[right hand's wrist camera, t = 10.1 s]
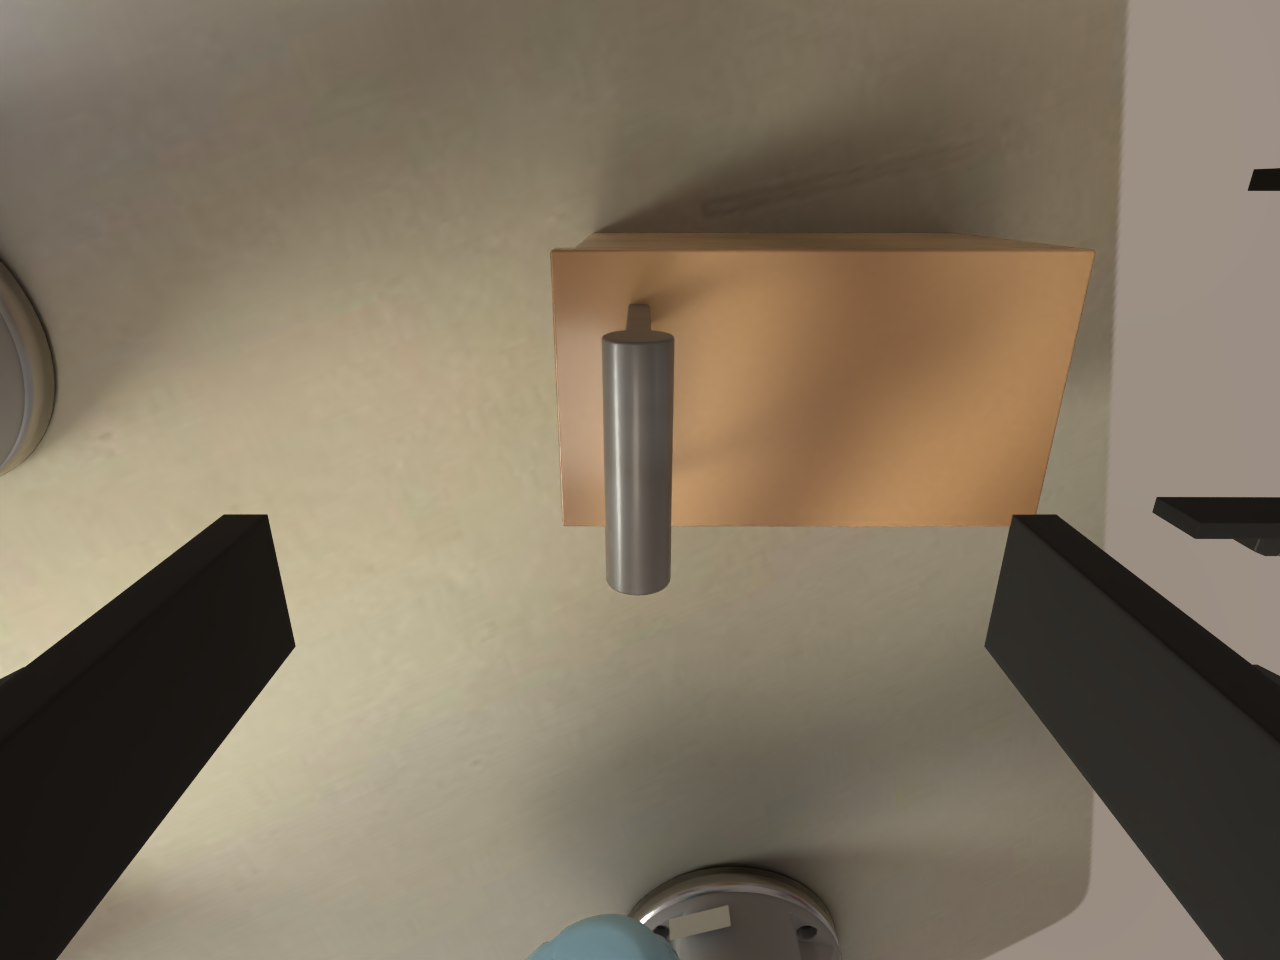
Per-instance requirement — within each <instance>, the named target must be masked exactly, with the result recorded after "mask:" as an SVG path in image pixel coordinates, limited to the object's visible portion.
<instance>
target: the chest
mask: <svg viewBox="0 0 1280 960" xmlns="http://www.w3.org/2000/svg"><path fill="white" fill-rule="evenodd" d="M575 248H1073V247H1065V246H1056V245H1048V244H1040V243H1031V242H1023V241H1015V240H1006V239H998V238H990V237H982V236H973V235H965V234H957V233H593V234H592V235H590V236H589V237H588V238H587V239H585V240H584V241H583V242H582V243H580V244H579V245H578V246H577V247H575Z"/></svg>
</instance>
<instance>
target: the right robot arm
mask: <svg viewBox="0 0 1280 960" xmlns="http://www.w3.org/2000/svg"><path fill="white" fill-rule="evenodd" d="M53 402H54V371H53V363H52V359H51V354H50V349H49V346H48V343H47V339H46V336H45V334H44V331H43V329H42V326H41V324H40V321H39V319H38V317H37V315H36V313H35V311H34V309H33V307H32V305H31V303H30V301H29V300H28V298H27V296H26V295H25V293H24V291H23V290H22V288H21V287H20V285H19V284H18V283H17V281H16V280H15V278H14V277H13V276H12V274H11V273H10V272H9V270H8V269H7V268H6V267H5V266H4V264H3V263H2V262H1V261H0V476H1V475H4V474H5V473H7V472H9V471H11V470H12V469H14V468H15V467H17V466H18V465H19V464H20V463H22V462H23V461H24V460H25V459H26V458H27V457H28V456H29V455H30V454H31V453H32V452H33V451H34V449H35V448H36V446H37V445H38V444H39V442H40V441H41V439H42V437H43V435H44V433H45V431H46V429H47V426H48V423H49V421H50V417H51V413H52V409H53ZM294 648H295V642H294V637H293V632H292V628H291V623H290V618H289V613H288V609H287V604H286V599H285V595H284V590H283V585H282V581H281V576H280V571H279V567H278V562H277V557H276V553H275V548H274V543H273V539H272V534H271V529H270V524H269V520H268V515H223V516H221V517H220V518H219V519H217V520H216V521H215V522H214V523H212V524H211V525H210V526H208V527H207V528H206V529H204V530H203V531H202V532H201V533H199V534H198V535H197V536H195V537H194V538H193V539H191V540H190V541H189V542H187V543H186V544H185V545H184V546H182V547H181V548H180V549H178V550H177V551H176V552H174V553H173V554H172V555H171V556H169V557H168V558H167V559H165V560H164V561H163V562H161V563H160V564H159V565H157V566H156V567H155V568H154V569H152V570H151V571H150V572H148V573H147V574H146V575H144V576H143V577H142V578H141V579H139V580H138V581H137V582H135V583H134V584H133V585H131V586H130V587H129V588H127V589H126V590H125V591H124V592H122V593H121V594H120V595H118V596H117V597H116V598H114V599H113V600H112V601H111V602H109V603H108V604H107V605H105V606H104V607H103V608H101V609H100V610H99V611H98V612H96V613H95V614H94V615H92V616H91V617H90V618H88V619H87V620H86V621H84V622H83V623H82V624H81V625H79V626H78V627H77V628H75V629H74V630H73V631H71V632H70V633H69V634H68V635H66V636H65V637H64V638H62V639H61V640H60V641H58V642H57V643H56V644H54V645H53V646H52V647H51V648H49V649H48V650H47V651H45V652H44V653H43V654H41V655H40V656H39V657H38V658H36V659H35V660H34V661H32V662H31V663H30V664H28V665H27V666H26V667H23V668H21V669H19V670H17V671H15V672H13V673H11V674H9V675H7V676H6V677H4V678H2V679H0V960H56V959H57V958H58V957H59V955H60V954H61V953H62V951H63V950H64V949H65V947H66V946H67V945H68V943H69V942H70V941H71V940H72V938H73V937H74V936H75V934H76V933H77V932H78V930H79V929H80V928H81V926H82V925H83V924H84V923H85V921H86V920H87V919H88V917H89V916H90V915H91V913H92V912H93V911H94V909H95V908H96V907H97V906H98V904H99V903H100V902H101V900H102V899H103V898H104V896H105V895H106V894H107V892H108V891H109V890H110V888H111V887H112V886H113V885H114V883H115V882H116V881H117V879H118V878H119V877H120V875H121V874H122V873H123V871H124V870H125V869H126V868H127V866H128V865H129V864H130V862H131V861H132V860H133V858H134V857H135V856H136V854H137V853H138V852H139V851H140V849H141V848H142V847H143V845H144V844H145V843H146V841H147V840H148V839H149V837H150V836H151V835H152V834H153V832H154V831H155V830H156V828H157V827H158V826H159V824H160V823H161V822H162V820H163V819H164V818H165V817H166V815H167V814H168V813H169V811H170V810H171V809H172V807H173V806H174V805H175V803H176V802H177V801H178V799H179V798H180V797H181V796H182V794H183V793H184V792H185V790H186V789H187V788H188V786H189V785H190V784H191V782H192V781H193V780H194V779H195V777H196V776H197V775H198V773H199V772H200V771H201V769H202V768H203V767H204V765H205V764H206V763H207V762H208V760H209V759H210V758H211V756H212V755H213V754H214V752H215V751H216V750H217V748H218V747H219V746H220V745H221V743H222V742H223V741H224V739H225V738H226V737H227V735H228V734H229V733H230V731H231V730H232V729H233V728H234V726H235V725H236V724H237V722H238V721H239V720H240V718H241V717H242V716H243V714H244V713H245V712H246V710H247V709H248V708H249V707H250V705H251V704H252V703H253V701H254V700H255V699H256V697H257V696H258V695H259V693H260V692H261V691H262V690H263V688H264V687H265V686H266V684H267V683H268V682H269V680H270V679H271V678H272V676H273V675H274V674H275V673H276V671H277V670H278V669H279V667H280V666H281V665H282V663H283V662H284V661H285V659H286V658H287V657H288V656H289V654H290V653H291V652H292V650H293V649H294ZM985 648H986V649H987V650H988V652H989V653H990V654H991V656H992V657H993V658H994V659H995V661H996V662H997V663H998V665H999V666H1000V667H1001V669H1002V670H1003V671H1004V673H1005V674H1006V675H1007V676H1008V678H1009V679H1010V680H1011V682H1012V683H1013V684H1014V686H1015V687H1016V688H1017V690H1018V691H1019V692H1020V693H1021V695H1022V696H1023V697H1024V699H1025V700H1026V701H1027V703H1028V704H1029V705H1030V707H1031V708H1032V709H1033V710H1034V712H1035V713H1036V714H1037V716H1038V717H1039V718H1040V720H1041V721H1042V722H1043V724H1044V725H1045V726H1046V728H1047V729H1048V730H1049V731H1050V733H1051V734H1052V735H1053V737H1054V738H1055V739H1056V741H1057V742H1058V743H1059V745H1060V746H1061V747H1062V748H1063V750H1064V751H1065V752H1066V754H1067V755H1068V756H1069V758H1070V759H1071V760H1072V762H1073V763H1074V764H1075V765H1076V767H1077V768H1078V769H1079V771H1080V772H1081V773H1082V775H1083V776H1084V777H1085V779H1086V780H1087V781H1088V782H1089V784H1090V785H1091V786H1092V788H1093V789H1094V790H1095V792H1096V793H1097V794H1098V796H1099V797H1100V798H1101V799H1102V801H1103V802H1104V803H1105V805H1106V806H1107V807H1108V809H1109V810H1110V811H1111V813H1112V814H1113V815H1114V816H1115V818H1116V819H1117V820H1118V822H1119V823H1120V824H1121V826H1122V827H1123V828H1124V830H1125V831H1126V832H1127V834H1128V835H1129V836H1130V837H1131V839H1132V840H1133V841H1134V843H1135V844H1136V845H1137V847H1138V848H1139V849H1140V850H1141V852H1142V853H1143V854H1144V856H1145V857H1146V858H1147V860H1148V861H1149V862H1150V864H1151V865H1152V866H1153V868H1154V869H1155V870H1156V871H1157V873H1158V874H1159V875H1160V877H1161V878H1162V879H1163V881H1164V882H1165V883H1166V885H1167V886H1168V887H1169V888H1170V890H1171V891H1172V892H1173V894H1174V895H1175V896H1176V898H1177V899H1178V900H1179V902H1180V903H1181V904H1182V905H1183V907H1184V908H1185V909H1186V911H1187V912H1188V913H1189V915H1190V916H1191V917H1192V919H1193V920H1194V921H1195V922H1196V924H1197V925H1198V926H1199V928H1200V929H1201V930H1202V932H1203V933H1204V934H1205V936H1206V937H1207V938H1208V939H1209V941H1210V942H1211V943H1212V945H1213V946H1214V947H1215V949H1216V950H1217V951H1218V953H1219V954H1220V955H1221V957H1222V958H1223V959H1224V960H1280V676H1279V675H1277V674H1275V673H1273V672H1271V671H1269V670H1267V669H1265V668H1263V667H1261V666H1259V665H1252V664H1250V663H1249V662H1248V661H1246V660H1245V659H1244V658H1242V657H1241V656H1240V655H1239V654H1237V653H1236V652H1235V651H1233V650H1232V649H1231V648H1229V647H1228V646H1227V645H1226V644H1224V643H1223V642H1222V641H1220V640H1219V639H1218V638H1216V637H1215V636H1214V635H1212V634H1211V633H1210V632H1209V631H1207V630H1206V629H1205V628H1203V627H1202V626H1201V625H1199V624H1198V623H1197V622H1196V621H1194V620H1193V619H1192V618H1190V617H1189V616H1188V615H1186V614H1185V613H1184V612H1182V611H1181V610H1180V609H1179V608H1177V607H1176V606H1175V605H1173V604H1172V603H1171V602H1169V601H1168V600H1167V599H1166V598H1164V597H1163V596H1162V595H1160V594H1159V593H1158V592H1156V591H1155V590H1154V589H1152V588H1151V587H1150V586H1148V585H1147V584H1146V583H1145V582H1143V581H1142V580H1141V579H1139V578H1138V577H1137V576H1136V575H1134V574H1133V573H1132V572H1130V571H1129V570H1128V569H1126V568H1125V567H1124V566H1123V565H1121V564H1120V563H1119V562H1117V561H1116V560H1115V559H1113V558H1112V557H1111V556H1109V555H1108V554H1107V553H1106V552H1104V551H1103V550H1102V549H1100V548H1099V547H1098V546H1096V545H1095V544H1094V543H1093V542H1091V541H1090V540H1089V539H1087V538H1086V537H1085V536H1083V535H1082V534H1081V533H1079V532H1078V531H1077V530H1076V529H1074V528H1073V527H1072V526H1070V525H1069V524H1068V523H1066V522H1065V521H1064V520H1063V519H1061V518H1060V517H1059V516H1057V515H1012V520H1011V524H1010V529H1009V534H1008V539H1007V543H1006V548H1005V553H1004V557H1003V562H1002V567H1001V571H1000V576H999V581H998V585H997V590H996V595H995V599H994V604H993V609H992V613H991V618H990V623H989V628H988V632H987V637H986V642H985Z"/></svg>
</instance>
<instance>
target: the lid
mask: <svg viewBox="0 0 1280 960" xmlns="http://www.w3.org/2000/svg"><path fill="white" fill-rule="evenodd" d="M550 256H551V278H552V300H553V323H554V345H555V368H556V390H557V412H558V435H559V457H560V480H561V502H562V524H563V526H605V533H606V580H607V582H608V584H609V586H610V587H611V588H613V589H614V590H616V591H618V592H621V593H624V594H629V595H648V594H653V593H656V592H659V591H661V590H662V589H664V588H665V587H666V586H667V585H668V584H669V582H670V569H671V526H1010V524H1011V520H1012V515H1036V512H1037V508H1038V503H1039V499H1040V495H1041V490H1042V486H1043V481H1044V477H1045V473H1046V468H1047V464H1048V459H1049V455H1050V451H1051V446H1052V442H1053V437H1054V433H1055V429H1056V424H1057V420H1058V415H1059V411H1060V406H1061V402H1062V398H1063V393H1064V389H1065V384H1066V380H1067V376H1068V371H1069V367H1070V362H1071V358H1072V354H1073V349H1074V345H1075V340H1076V336H1077V332H1078V327H1079V323H1080V318H1081V314H1082V309H1083V305H1084V301H1085V296H1086V292H1087V287H1088V283H1089V279H1090V274H1091V270H1092V265H1093V261H1094V257H1095V251H1094V250H1089V249H1081V248H555V249H553V250H552V251H551V253H550Z"/></svg>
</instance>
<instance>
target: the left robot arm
mask: <svg viewBox="0 0 1280 960" xmlns="http://www.w3.org/2000/svg"><path fill="white" fill-rule="evenodd" d="M1248 191H1280V168H1276V169H1254V171H1253V174H1252V178H1251V181H1250V185H1249V188H1248ZM1153 513H1154V514H1156V515H1158V516H1159V517H1161V518H1162V519H1164V520H1166V521H1167V522H1169V523H1171V524H1172V525H1174V526H1176V527H1177V528H1179V529H1180V530H1182V531H1184V532H1185V533H1187V534H1189V535H1190V536H1192V537H1193V538H1195V539H1234V540H1236V541H1237V542H1239V543H1241V544H1243V545H1244V546H1246V547H1248V548H1249V549H1251V550H1253V551H1255V552H1257V553H1259V554H1262V555H1264V556H1277V555H1278V556H1280V497H1279V498H1278V497H1276V498H1275V497H1157V498H1156V502H1155V505H1154V509H1153ZM526 960H842V955H841V950H840V946H839V942H838V939H837V935H836V931H835V927H834V924H833V921H832V918H831V915H830V914H829V912H828V910H827V908H826V907H825V905H824V904H823V903H822V902H821V900H820V899H819V898H818V897H817V896H816V895H815V894H814V893H812V892H811V891H810V890H809V889H807V888H806V887H804V886H803V885H801V884H799V883H798V882H796V881H794V880H792V879H790V878H788V877H785V876H783V875H780V874H777V873H774V872H770V871H766V870H761V869H755V868H747V867H719V868H710V869H704V870H699V871H695V872H691V873H688V874H685V875H682V876H679V877H676V878H674V879H672V880H669V881H668V882H666V883H664V884H662V885H660V886H658V887H657V888H655V889H654V890H652V891H651V892H650V893H648V894H647V895H646V896H645V897H644V898H643V899H641V900H640V901H639V902H638V903H637V905H636V906H635V907H634V908H633V909H632V911H631V912H630V914H629V915H628V916H625V915H618V914H604V915H597V916H593V917H590V918H586V919H583V920H581V921H579V922H576V923H574V924H572V925H570V926H568V927H566V928H565V929H564V930H562V931H561V933H560V934H558V935H557V936H556V937H555V938H554V939H553V940H551V941H550V942H545V943H543V944H542V945H541V946H540V947H539V948H537V949H536V950H535V951H534V952H533V953H532V954H531V955H530V956H529V957H528V958H527V959H526Z"/></svg>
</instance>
